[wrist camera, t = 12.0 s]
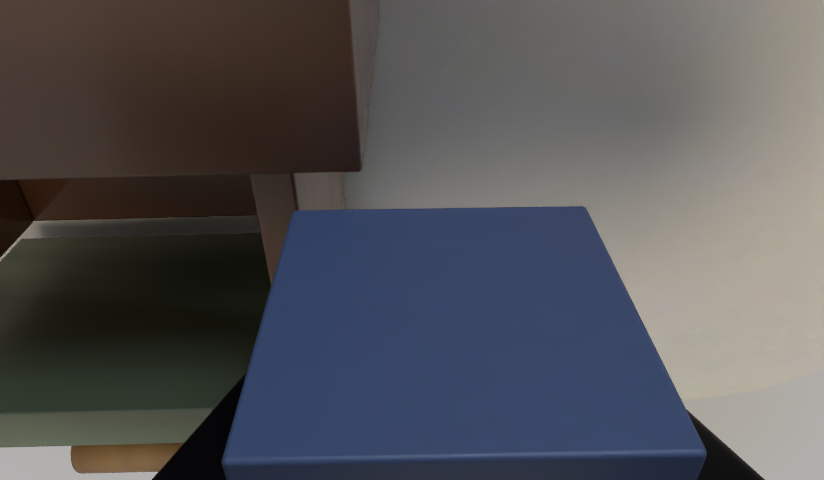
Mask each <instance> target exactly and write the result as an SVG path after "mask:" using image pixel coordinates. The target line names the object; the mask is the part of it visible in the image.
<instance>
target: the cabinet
mask: <svg viewBox="0 0 824 480" xmlns="http://www.w3.org/2000/svg"><path fill="white" fill-rule="evenodd" d="M378 24H379V0H0V180H28V179H70V178H111V177H152V176H194V175H235V174H276V173H318V172H359V171H361V170H362V167H363V158H364V149H365V147H364V146H365V140H366V131H367V122H368V113H369V105H370V96H371V87H372V78H373V69H374V61H375V52H376V43H377V34H378Z"/></svg>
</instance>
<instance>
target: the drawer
mask: <svg viewBox="0 0 824 480" xmlns="http://www.w3.org/2000/svg"><path fill="white" fill-rule="evenodd" d="M343 206H344V190H343V179H342V172H318V173H276V174H235V175H194V176H152V177H111V178H70V179H28V180H0V257H1V256H2V255H3V254H4V253H5V252H6V251H7V250H8V249H9V247H10V246H11V245H12V244H13V243H14V242H15V241H16V240H17V239H18V238H19V237H20V236H21V235H22V233H23V232H24V231H25V230H26V229H27V228H28V227H29V226H30V225H31V224H32V223H33V221H44V220H86V219H127V218H168V217H209V216H251V215H257V216H258V221H259V226H260V232H261V233H239V234H198V235H157V236H116V237H75V238H34V239H21V240H20V241H19V242H18V243H17V244H16V245H15V246H14V247H13V248H12V250H11V251H10V252H9V253H8V254H7V255H6V256H5V257H4V258H3V259H2V260H1V262H0V447H36V446H71V462H72V466H73V468H74V469H75V470H76V472H78V473H116V472H158V471H160V470H161V469H162V467H163V466H164V465H165V464H166V463H167V462H168V461H169V460H170V458H171V457H172V456H173V455H174V454H175V453H176V452H177V450H178V449H179V448H180V447H181V446H182V445H183V444H184V442H185V441H186V440H187V439H188V438H189V437H190V436H191V434H192V433H193V432H194V431H195V430H196V429H197V428H198V426H199V425H200V424H201V423H202V422H203V421H204V420H205V418H206V417H207V416H208V415H209V414H210V413H211V412H212V411H213V409H214V408H215V407H216V406H217V405H218V404H219V403H220V401H221V400H222V399H223V398H224V397H225V396H226V395H227V393H228V392H229V391H230V390H231V389H232V388H233V387H234V385H235V384H236V383H237V382H238V381H239V380H240V379H241V377H242V376H243V375H244V374H245V373H246V372H247V370H248V366H249V363H250V359H251V356H252V352H253V349H254V345H255V342H256V338H257V335H258V331H259V327H260V324H261V320H262V317H263V313H264V310H265V306H266V303H267V299H268V296H269V292H270V289H271V285H272V282H273V278H274V275H275V271H276V268H277V264H278V260H279V257H280V253H281V250H282V246H283V243H284V239H285V236H286V232H287V229H288V225H289V222H290V218H291V215H292V212H293V211H296V210H343Z"/></svg>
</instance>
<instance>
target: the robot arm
mask: <svg viewBox="0 0 824 480" xmlns="http://www.w3.org/2000/svg"><path fill="white" fill-rule="evenodd" d="M246 373H247V372H246ZM246 373H245V374H244V375H243V376H242V377H241V379H240V380H239V381H238V382H237V383H236V384H235V385H234V387H233V388H232V389H231V390H230V391H229V392H228V393H227V395H226V396H225V397H224V398H223V399H222V400H221V401H220V403H219V404H218V405H217V406H216V407H215V408H214V409H213V411H212V412H211V413H210V414H209V415H208V416H207V417H206V418H205V420H204V421H203V422H202V423H201V424H200V425H199V426H198V428H197V429H196V430H195V431H194V432H193V433H192V434H191V436H190V437H189V438H188V439H187V440H186V441H185V442H184V444H183V445H182V446H181V447H180V448H179V449H178V450H177V452H176V453H175V454H174V455H173V456H172V457H171V458H170V460H169V461H168V462H167V463H166V464H165V465H164V466H163V467H162V469H161V470H160V471H159V472H158V473H157V474H156V476H155V477H154V478H153V479H152V480H226V477H225V473H224V470H223V466H222V458H223V454H224V451H225V447H226V444H227V440H228V437H229V433H230V430H231V426H232V423H233V419H234V416H235V412H236V409H237V405H238V402H239V398H240V394H241V391H242V387H243V384H244V380H245V377H246ZM686 411H687V413H688V415H689V417H690V419H691V421H692V423H693V425H694V427H695V429H696V431H697V433H698V435H699V437H700V439H701V441H702V443H703V445H704V447H705V449H706V459H705V461H704V464H703V466H702V469H701V471H700V474H699V476H698V478H697V480H765V479H763V478H762V477H761V476H760V475H759V474H757V472H756V471H755V470H753V469H752V468H751V467H750V466H749V465H748V464H747V463H746V462H744V461H743V460H742V459H741V458H740V457H739V456H738V455H737V454H736V453H734V452H733V451H732V450H731V449H730V448H729V447H727V445H726V444H724V443H723V442H722V441H721V440H720V439H719V438H718V437H716V436H715V435H714V434H713V433H712V432H711V431H710V430H709V429H708V428H706V427H705V426H704V425H703V424H702V423H701V422H700V421H699V420H698V419H696V418H695V417H694V416H693V415H692V414H691V413H690V412H689V411H688V410H686Z"/></svg>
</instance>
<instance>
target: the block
mask: <svg viewBox="0 0 824 480" xmlns="http://www.w3.org/2000/svg"><path fill="white" fill-rule="evenodd" d="M705 459H706V449H705V447H704V445H703V443H702V441H701V439H700V437H699V435H698V433H697V431H696V429H695V427H694V425H693V423H692V421H691V419H690V417H689V415H688V413H687V411H686V409H685V407H684V405H683V403H682V401H681V398H680V396H679V394H678V392H677V390H676V388H675V386H674V384H673V382H672V380H671V378H670V376H669V374H668V372H667V370H666V368H665V366H664V364H663V362H662V360H661V358H660V356H659V354H658V352H657V350H656V348H655V346H654V344H653V342H652V340H651V338H650V336H649V334H648V332H647V330H646V328H645V326H644V324H643V322H642V320H641V318H640V316H639V314H638V312H637V310H636V308H635V306H634V304H633V302H632V300H631V298H630V296H629V294H628V292H627V290H626V288H625V286H624V284H623V282H622V280H621V278H620V276H619V274H618V272H617V270H616V268H615V266H614V264H613V262H612V260H611V258H610V256H609V254H608V252H607V250H606V248H605V246H604V244H603V242H602V240H601V238H600V236H599V234H598V231H597V229H596V227H595V225H594V223H593V221H592V219H591V217H590V215H589V213H588V211H587V209H586V208H585V207H582V206H569V207H501V208H432V209H364V210H296V211H293V212H292V215H291V218H290V222H289V225H288V229H287V232H286V236H285V239H284V243H283V246H282V250H281V253H280V257H279V260H278V264H277V268H276V271H275V275H274V278H273V282H272V285H271V289H270V292H269V296H268V299H267V303H266V306H265V310H264V313H263V317H262V320H261V324H260V327H259V331H258V335H257V338H256V342H255V345H254V349H253V352H252V356H251V359H250V363H249V366H248V370H247V373H246V377H245V380H244V384H243V387H242V391H241V394H240V398H239V402H238V405H237V409H236V412H235V416H234V419H233V423H232V426H231V430H230V433H229V437H228V440H227V444H226V447H225V451H224V454H223V458H222V466H223V470H224V473H225V477H226V480H697V478H698V476H699V474H700V471H701V469H702V466H703V464H704V461H705Z"/></svg>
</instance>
